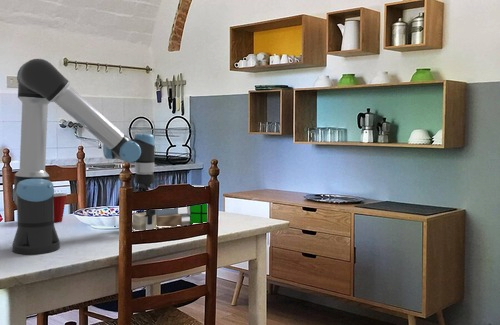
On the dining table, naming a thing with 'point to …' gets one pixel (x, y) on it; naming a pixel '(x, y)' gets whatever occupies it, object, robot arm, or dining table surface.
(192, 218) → the puzzle cube
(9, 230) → the dining table surface
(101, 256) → the dining table surface
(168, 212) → the slate block
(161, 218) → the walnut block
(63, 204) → the plastic cup
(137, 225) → the maple block
